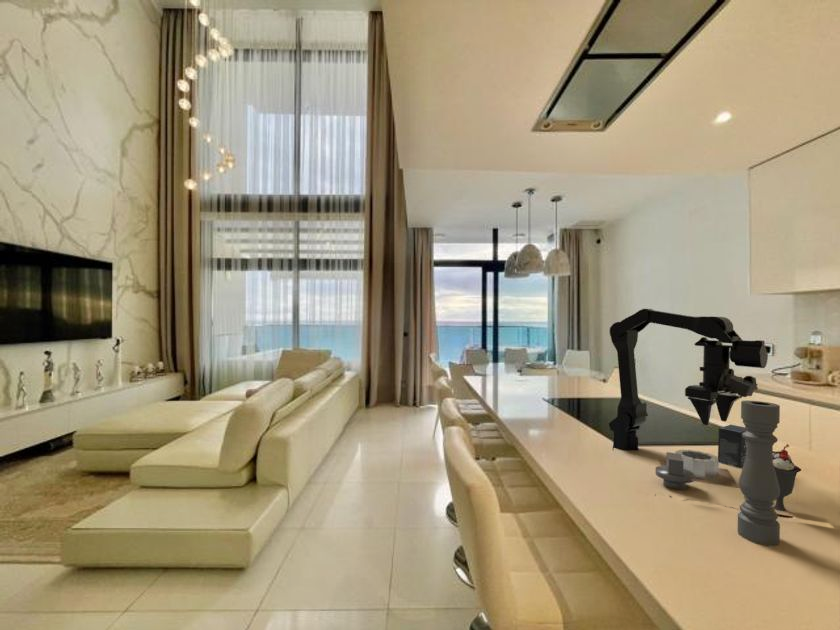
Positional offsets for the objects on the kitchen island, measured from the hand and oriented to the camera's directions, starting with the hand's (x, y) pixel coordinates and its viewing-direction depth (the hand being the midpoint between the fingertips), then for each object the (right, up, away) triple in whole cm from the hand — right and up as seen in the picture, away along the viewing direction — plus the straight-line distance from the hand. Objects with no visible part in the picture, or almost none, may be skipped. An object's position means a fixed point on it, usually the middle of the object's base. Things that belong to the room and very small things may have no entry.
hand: (714, 423), depth 114 cm
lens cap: (-17, -13, -11) cm, 24 cm away
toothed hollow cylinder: (-6, -13, -2) cm, 14 cm away
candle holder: (-15, -13, -33) cm, 38 cm away
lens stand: (-6, -13, -2) cm, 15 cm away
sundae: (-2, -14, -23) cm, 26 cm away
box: (+10, -14, +7) cm, 19 cm away
